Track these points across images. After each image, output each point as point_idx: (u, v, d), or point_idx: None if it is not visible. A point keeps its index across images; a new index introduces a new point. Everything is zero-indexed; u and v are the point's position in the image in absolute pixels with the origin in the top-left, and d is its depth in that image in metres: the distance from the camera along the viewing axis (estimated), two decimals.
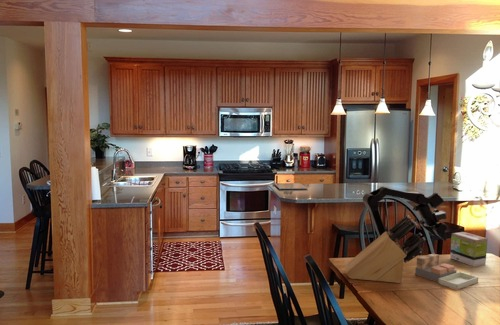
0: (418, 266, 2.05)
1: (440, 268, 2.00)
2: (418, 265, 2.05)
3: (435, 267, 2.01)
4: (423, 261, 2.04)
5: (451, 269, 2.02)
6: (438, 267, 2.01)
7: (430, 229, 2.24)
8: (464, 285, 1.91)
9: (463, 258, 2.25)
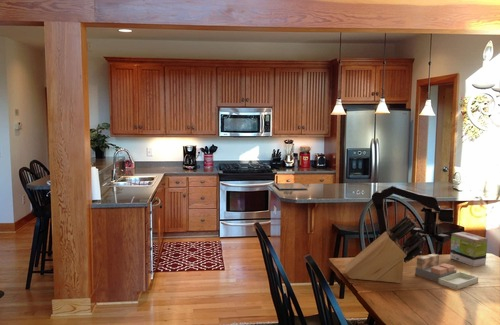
0: (418, 266, 2.05)
1: (440, 268, 2.00)
2: (418, 265, 2.05)
3: (435, 267, 2.01)
4: (423, 261, 2.04)
5: (451, 269, 2.02)
6: (438, 267, 2.01)
7: None
8: (464, 285, 1.91)
9: (463, 258, 2.25)
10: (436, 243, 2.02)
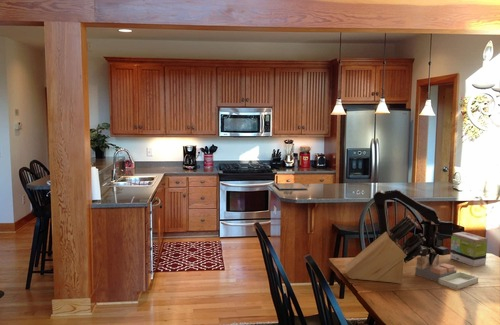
0: (418, 266, 2.05)
1: (440, 268, 2.00)
2: (418, 265, 2.05)
3: (435, 267, 2.01)
4: (423, 261, 2.04)
5: (451, 269, 2.02)
6: (438, 267, 2.01)
7: (423, 254, 2.10)
8: (464, 285, 1.91)
9: (463, 258, 2.25)
10: (430, 254, 2.04)
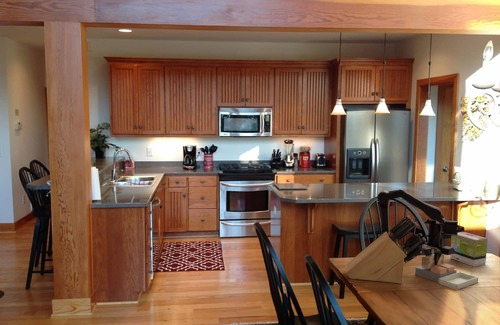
0: (423, 266, 2.03)
1: (440, 268, 2.00)
2: (423, 265, 2.03)
3: (435, 267, 2.01)
4: (428, 261, 2.02)
5: (451, 269, 2.02)
6: (438, 267, 2.01)
7: (428, 254, 2.07)
8: (464, 285, 1.91)
9: (463, 258, 2.25)
10: (435, 254, 2.02)
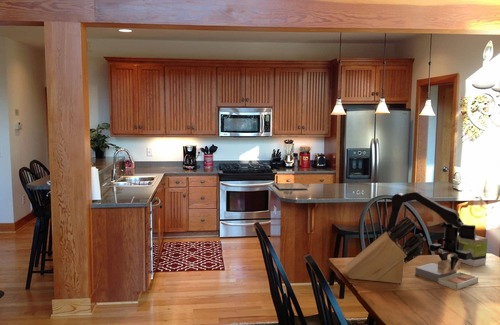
0: (439, 271, 1.96)
1: None
2: (439, 270, 1.96)
3: None
4: (445, 265, 1.95)
5: None
6: None
7: (444, 259, 2.00)
8: (464, 285, 1.91)
9: None
10: (452, 259, 1.95)
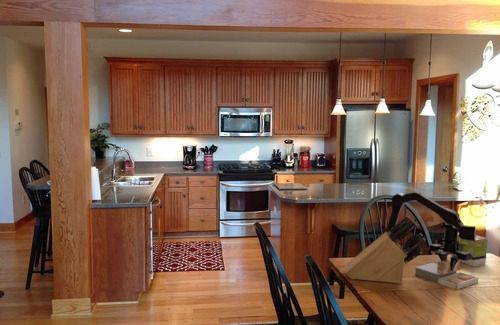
0: (439, 271, 1.96)
1: None
2: (439, 270, 1.96)
3: None
4: (444, 266, 1.95)
5: None
6: None
7: (444, 259, 2.00)
8: (464, 285, 1.91)
9: None
10: (451, 259, 1.95)
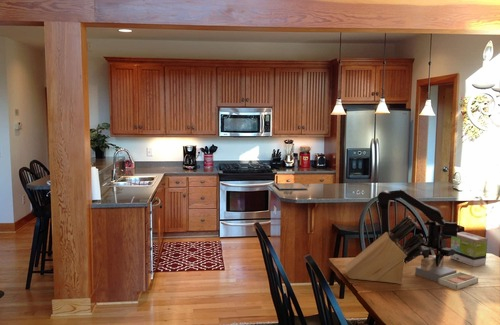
0: (422, 267, 2.03)
1: None
2: (422, 267, 2.03)
3: None
4: (428, 262, 2.02)
5: None
6: None
7: (426, 255, 2.08)
8: (464, 285, 1.91)
9: (463, 258, 2.25)
10: (437, 256, 2.01)
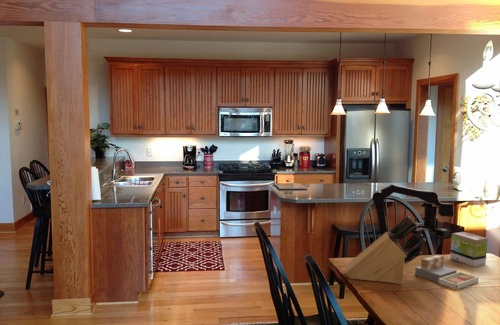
0: (422, 267, 2.03)
1: None
2: (422, 267, 2.03)
3: None
4: (428, 262, 2.02)
5: None
6: None
7: None
8: (464, 285, 1.91)
9: (463, 258, 2.25)
10: (436, 237, 2.04)
